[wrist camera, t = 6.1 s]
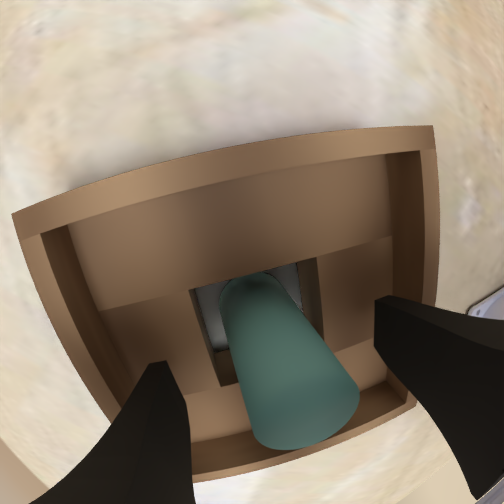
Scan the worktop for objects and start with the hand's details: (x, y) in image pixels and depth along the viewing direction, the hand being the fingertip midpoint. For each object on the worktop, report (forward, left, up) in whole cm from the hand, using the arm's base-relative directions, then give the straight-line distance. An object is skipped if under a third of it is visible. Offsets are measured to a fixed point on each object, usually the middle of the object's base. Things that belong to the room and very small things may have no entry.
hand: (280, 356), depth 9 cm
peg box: (0, 0, -4) cm, 4 cm away
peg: (0, 0, -4) cm, 4 cm away
